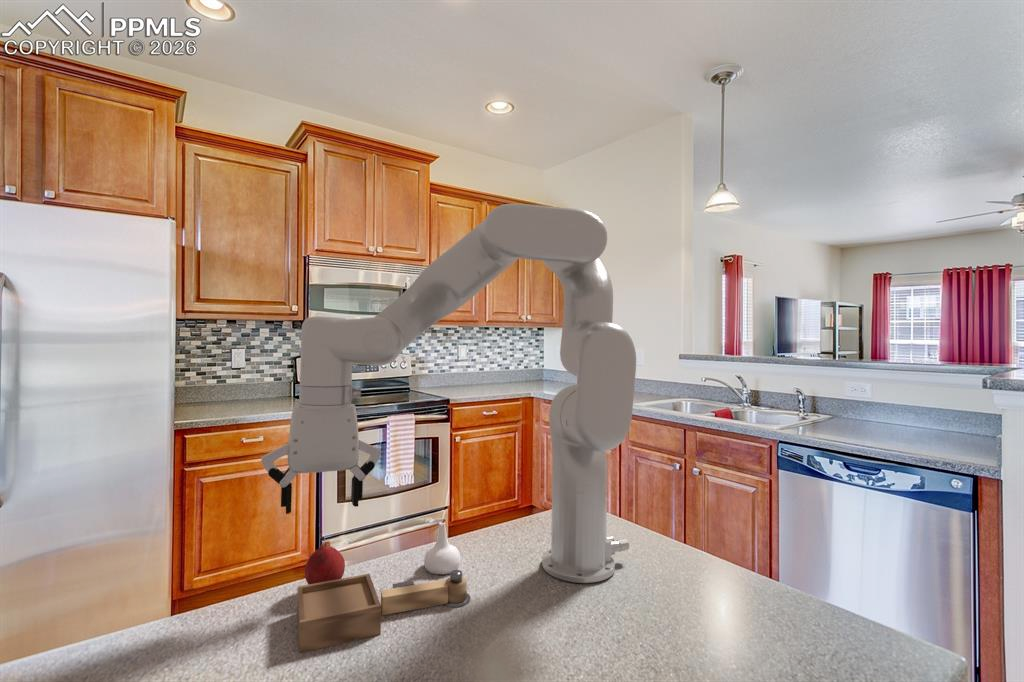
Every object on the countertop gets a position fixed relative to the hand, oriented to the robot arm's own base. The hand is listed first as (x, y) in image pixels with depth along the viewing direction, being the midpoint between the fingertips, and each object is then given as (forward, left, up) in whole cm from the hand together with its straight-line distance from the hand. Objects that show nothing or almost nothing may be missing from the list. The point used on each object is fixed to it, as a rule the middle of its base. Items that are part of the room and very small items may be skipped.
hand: (322, 507), depth 77 cm
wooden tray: (-1, +10, -13) cm, 16 cm away
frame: (-15, +10, -13) cm, 22 cm away
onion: (0, 0, -14) cm, 14 cm away
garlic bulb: (-20, -1, -14) cm, 24 cm away
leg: (-14, +10, -13) cm, 21 cm away
